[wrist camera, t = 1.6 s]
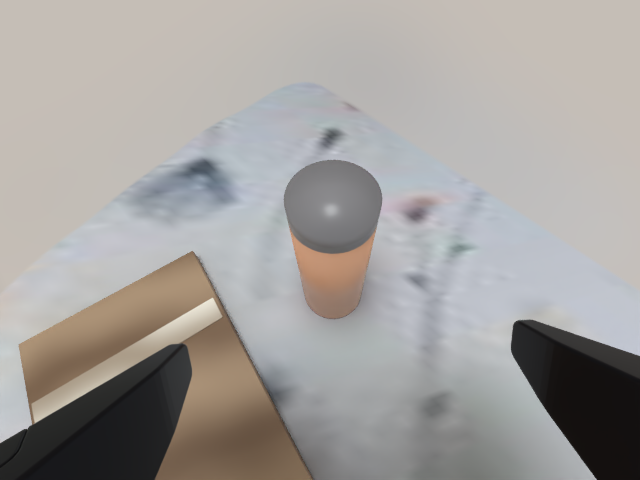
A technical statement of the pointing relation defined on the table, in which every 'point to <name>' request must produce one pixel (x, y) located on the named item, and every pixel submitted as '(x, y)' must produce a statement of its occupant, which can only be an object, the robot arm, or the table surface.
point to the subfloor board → (205, 386)
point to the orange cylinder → (332, 232)
